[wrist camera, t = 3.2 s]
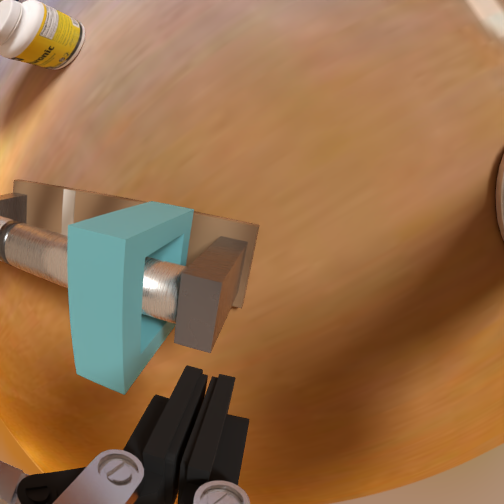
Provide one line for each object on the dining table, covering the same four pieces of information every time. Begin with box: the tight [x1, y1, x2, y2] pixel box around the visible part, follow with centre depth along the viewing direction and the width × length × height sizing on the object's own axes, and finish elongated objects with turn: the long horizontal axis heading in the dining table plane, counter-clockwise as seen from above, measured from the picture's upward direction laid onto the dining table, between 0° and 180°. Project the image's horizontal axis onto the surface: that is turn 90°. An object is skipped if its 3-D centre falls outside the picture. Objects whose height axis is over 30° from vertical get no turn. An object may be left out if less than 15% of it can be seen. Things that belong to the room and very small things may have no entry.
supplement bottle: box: [0, 0, 85, 70], centre depth 16 cm, size 5×5×10 cm
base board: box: [13, 180, 259, 308], centre depth 24 cm, size 25×6×1 cm, turn 79°
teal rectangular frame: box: [67, 201, 194, 395], centre depth 17 cm, size 3×8×9 cm, turn 169°
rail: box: [0, 193, 248, 353], centre depth 20 cm, size 24×4×9 cm, turn 79°
